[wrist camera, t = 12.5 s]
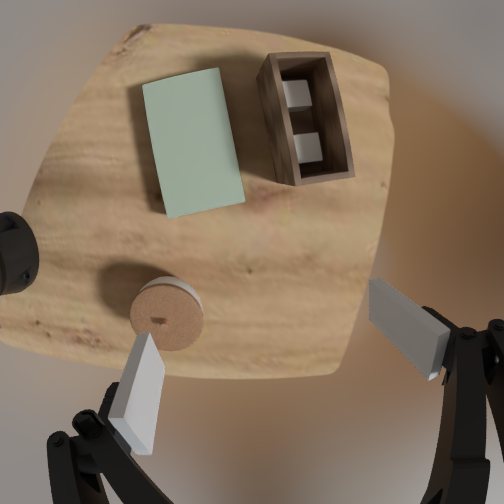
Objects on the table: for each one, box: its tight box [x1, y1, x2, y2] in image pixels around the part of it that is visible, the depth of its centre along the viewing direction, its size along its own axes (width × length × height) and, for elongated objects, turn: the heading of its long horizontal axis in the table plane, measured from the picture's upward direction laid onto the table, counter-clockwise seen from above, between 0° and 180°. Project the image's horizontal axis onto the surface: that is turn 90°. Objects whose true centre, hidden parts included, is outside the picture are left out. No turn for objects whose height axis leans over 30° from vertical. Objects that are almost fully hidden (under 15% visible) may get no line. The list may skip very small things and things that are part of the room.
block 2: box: [293, 132, 323, 163], centre depth 38 cm, size 4×4×4 cm
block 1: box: [282, 80, 312, 112], centre depth 36 cm, size 4×4×4 cm
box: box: [256, 52, 355, 186], centre depth 35 cm, size 17×8×10 cm, turn 10°
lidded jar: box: [129, 276, 204, 351], centre depth 40 cm, size 11×11×9 cm
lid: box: [142, 67, 245, 219], centre depth 37 cm, size 20×11×4 cm, turn 10°
